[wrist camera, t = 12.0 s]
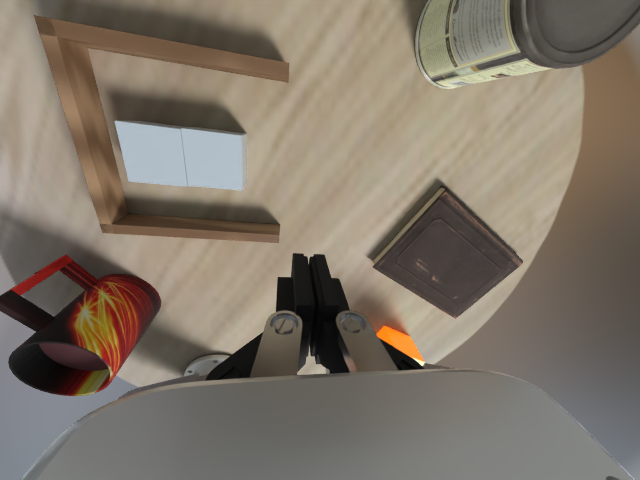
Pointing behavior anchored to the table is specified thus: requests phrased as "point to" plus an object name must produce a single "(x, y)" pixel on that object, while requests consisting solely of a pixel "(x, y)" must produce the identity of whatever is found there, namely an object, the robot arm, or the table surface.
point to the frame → (92, 134)
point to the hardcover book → (447, 255)
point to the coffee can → (516, 36)
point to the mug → (80, 330)
